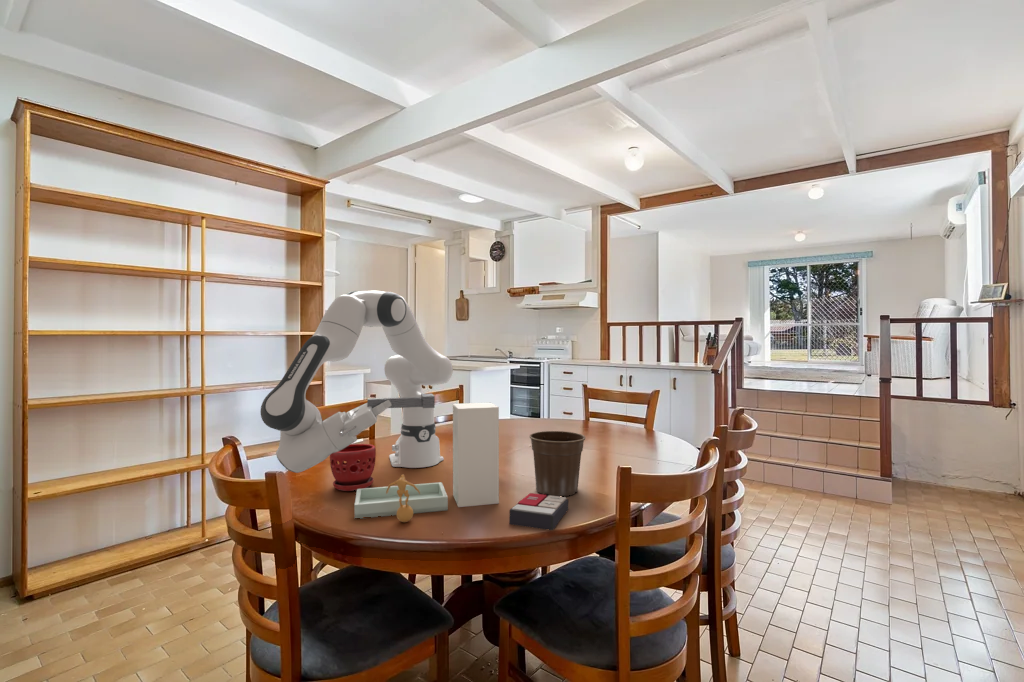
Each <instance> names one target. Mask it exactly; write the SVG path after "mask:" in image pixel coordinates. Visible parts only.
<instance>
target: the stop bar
mask: <svg viewBox="0 0 1024 682" xmlns="http://www.w3.org/2000/svg"><path fill="white" fill-rule="evenodd" d="M366 400H367V402H366V403H367V407H369V406H371V407H372V408H374V407H375V406H378V405H379V404H381V403H383V402H384V401H386V400H389V401H390V402H391V406H390V407H389V408H388V409H399V408H407V407H423V408H434V409H435V406H436V405H435V402H436V401H435V395H434V394H433V393H425V394H421V397H403V398H400V397H378V398H377V397H374V398H372V397H371V398H369V397H368V398H367V399H366Z"/></svg>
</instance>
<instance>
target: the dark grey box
mask: <svg viewBox="0 0 1024 682" xmlns="http://www.w3.org/2000/svg"><path fill="white" fill-rule="evenodd" d="M568 510H569V499H568V498H567V496H564V497H560V496H551V495H549V494H545V495H544V494H541V493H535V492H534V493H532V492H530V493H528V494H527V495H526V496H525V497H523V498H521V500H519V501H518V502H517V503H516V504H515V505H514V506H513V507H511V508H510V509H509V522H508V523H509V525H514V526H520V527H525V526H526V527H527V528H532V527H533V528H535V529H539V528H540V530H546V529H549V530H548V531H553V529H554V530H555V528H556V527H557V526H558V524H559V522H560V521H561V520H562V519H563V517H564V516H565V515H566V513H567V512H568ZM566 511H567V512H566ZM563 515H564V516H563ZM556 525H557V526H556Z"/></svg>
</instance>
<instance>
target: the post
mask: <svg viewBox="0 0 1024 682" xmlns="http://www.w3.org/2000/svg"><path fill="white" fill-rule="evenodd" d="M499 407H500V406H497V405H496V404H494V403H492V402H471V403H469V402H467V403H464V402H463V403H452V497H453V498H454V501H455V503H456V505H457V508H464V507H475V506H484V505H496V504H500V498H499V497H500V493H499V492H500V489H499V488H500V486H499V485H500V482H499V481H500V465H499V463H500V460H499V459H500V452H499V451H500V449H499V448H500V446H499V445H500V438H499V437H500V434H499V433H500V429H499V428H500V418H499V415H500V408H499Z"/></svg>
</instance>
